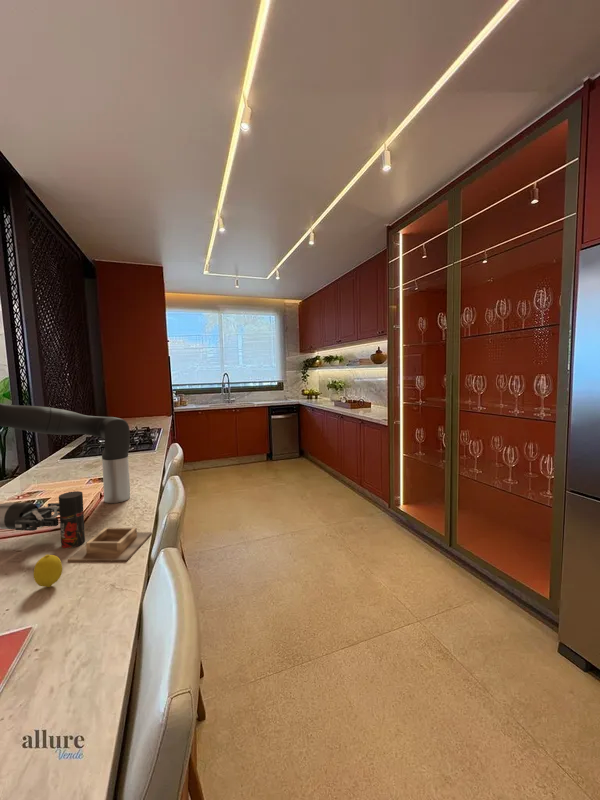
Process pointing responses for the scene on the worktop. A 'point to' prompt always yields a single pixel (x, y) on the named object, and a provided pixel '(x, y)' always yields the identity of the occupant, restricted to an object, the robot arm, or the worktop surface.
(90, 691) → the worktop surface
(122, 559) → the socket
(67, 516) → the deodorant
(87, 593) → the worktop surface
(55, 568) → the lemon
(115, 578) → the worktop surface
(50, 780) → the worktop surface
